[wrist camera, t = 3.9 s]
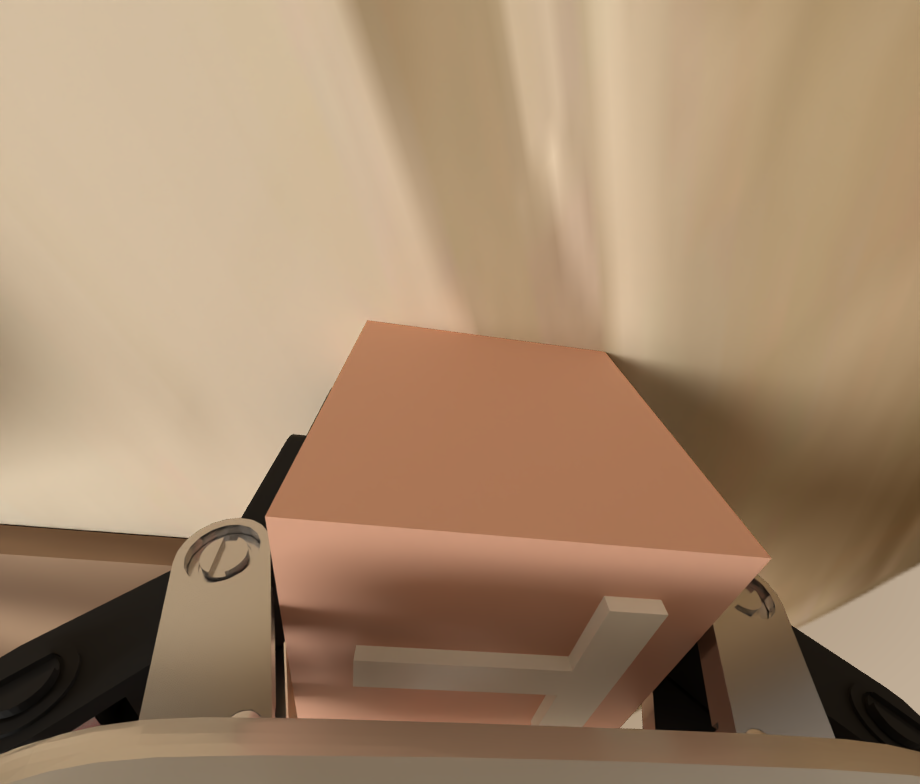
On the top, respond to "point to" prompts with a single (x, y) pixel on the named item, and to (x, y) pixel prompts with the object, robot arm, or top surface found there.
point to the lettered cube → (494, 538)
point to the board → (74, 578)
